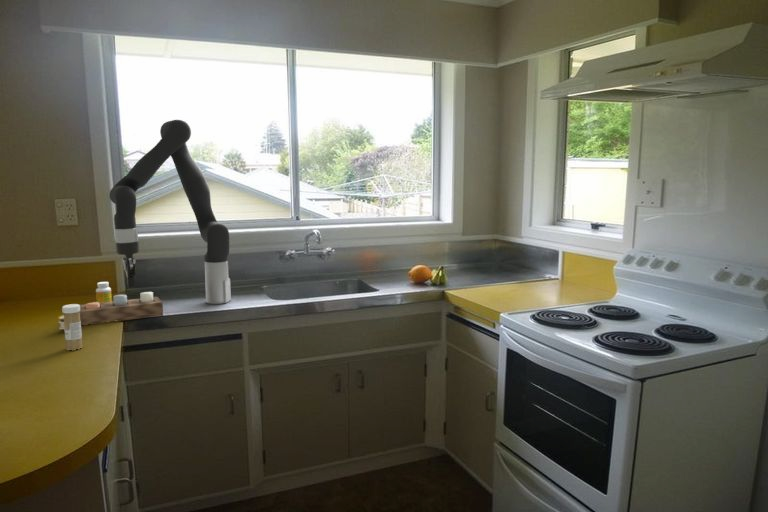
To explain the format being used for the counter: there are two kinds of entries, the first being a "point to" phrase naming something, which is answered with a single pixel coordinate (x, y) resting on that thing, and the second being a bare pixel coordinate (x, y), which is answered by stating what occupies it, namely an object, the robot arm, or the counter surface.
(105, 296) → the supplement bottle
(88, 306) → the brown egg
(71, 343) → the sprinkles bottle
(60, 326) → the stacked layers on plate
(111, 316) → the button panel
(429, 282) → the counter surface
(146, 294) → the cream button
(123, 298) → the blue-grey egg
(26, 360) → the counter surface
